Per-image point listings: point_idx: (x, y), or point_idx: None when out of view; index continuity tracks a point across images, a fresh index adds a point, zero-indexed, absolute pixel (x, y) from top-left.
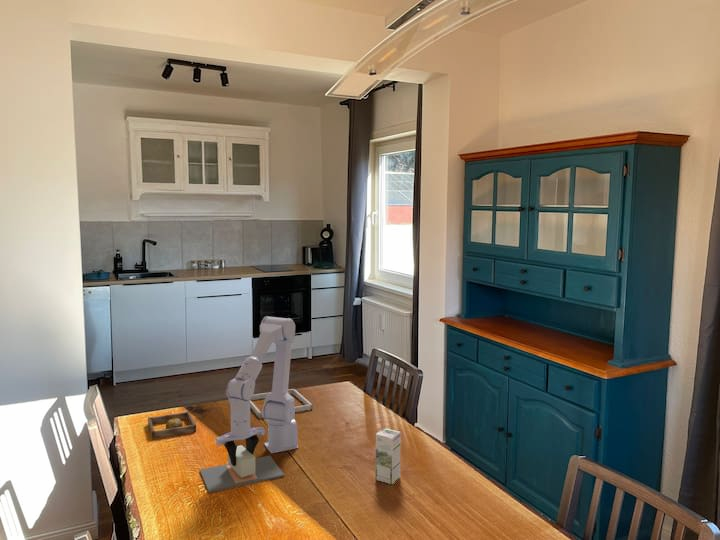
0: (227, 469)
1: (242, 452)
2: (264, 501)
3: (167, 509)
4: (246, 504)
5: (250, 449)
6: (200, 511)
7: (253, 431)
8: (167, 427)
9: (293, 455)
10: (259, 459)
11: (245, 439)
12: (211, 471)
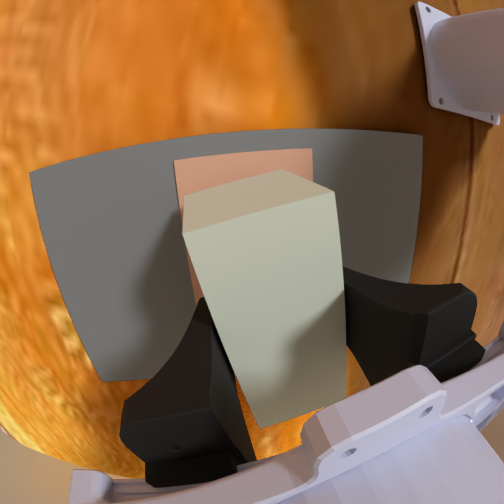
0: (178, 215)
1: (299, 343)
2: (282, 431)
3: (17, 401)
4: None
5: (360, 360)
6: (103, 437)
7: (477, 411)
8: None
9: (475, 168)
10: (375, 153)
11: (394, 314)
12: (86, 213)
